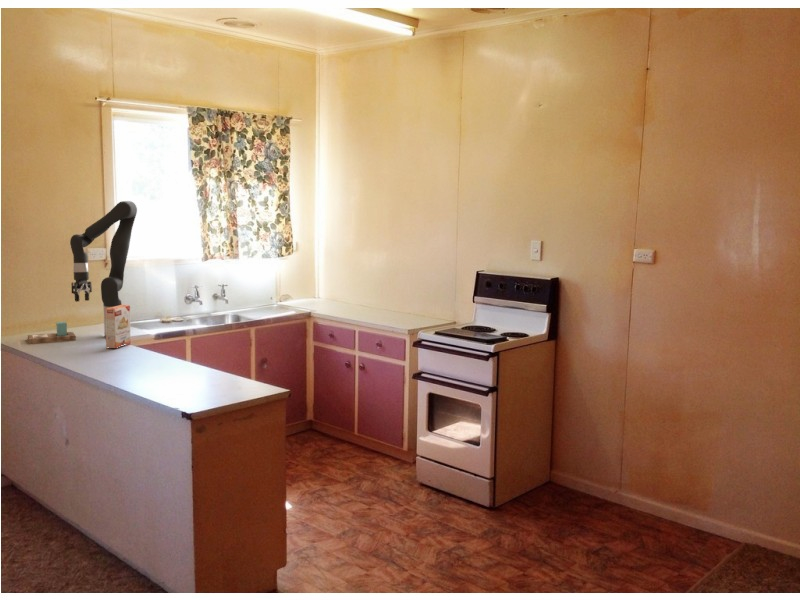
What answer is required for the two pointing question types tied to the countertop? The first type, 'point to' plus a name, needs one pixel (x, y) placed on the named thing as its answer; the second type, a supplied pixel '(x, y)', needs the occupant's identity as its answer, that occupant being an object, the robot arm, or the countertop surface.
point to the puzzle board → (50, 338)
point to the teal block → (61, 328)
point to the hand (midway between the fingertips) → (82, 301)
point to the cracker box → (117, 326)
